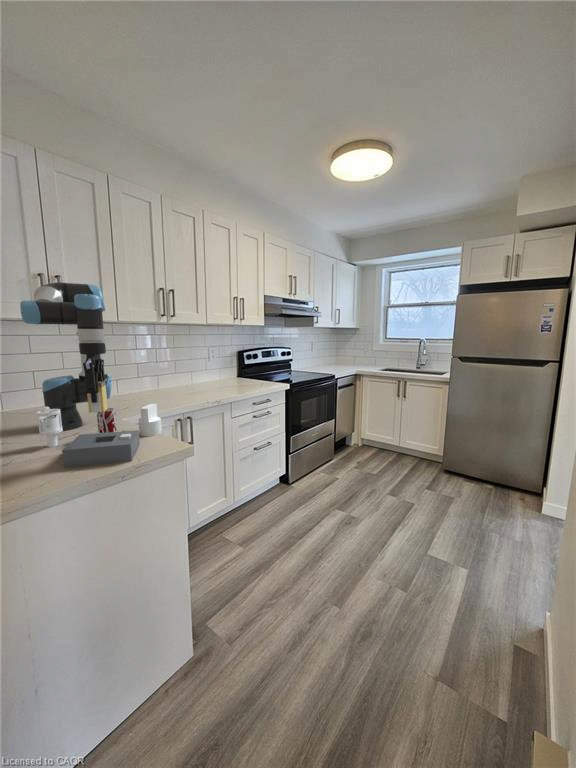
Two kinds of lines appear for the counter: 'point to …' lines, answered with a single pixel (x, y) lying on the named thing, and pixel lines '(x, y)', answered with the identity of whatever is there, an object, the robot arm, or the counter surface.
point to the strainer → (50, 425)
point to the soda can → (107, 421)
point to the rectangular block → (102, 396)
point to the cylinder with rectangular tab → (149, 421)
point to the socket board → (101, 448)
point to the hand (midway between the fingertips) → (98, 409)
